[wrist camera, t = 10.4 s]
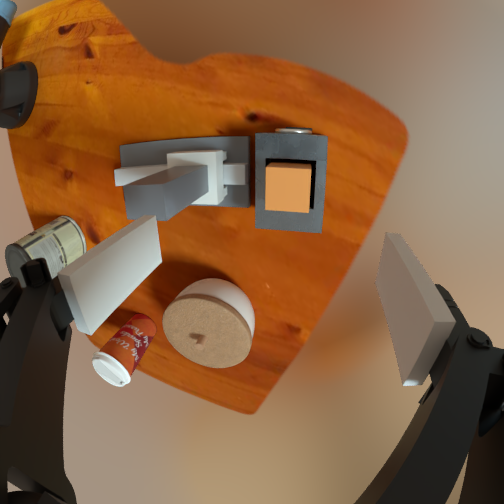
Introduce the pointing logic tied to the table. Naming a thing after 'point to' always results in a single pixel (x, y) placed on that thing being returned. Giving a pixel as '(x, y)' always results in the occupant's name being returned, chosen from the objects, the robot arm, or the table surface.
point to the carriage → (178, 185)
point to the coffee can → (47, 247)
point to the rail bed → (155, 152)
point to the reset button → (288, 187)
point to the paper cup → (124, 350)
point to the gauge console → (290, 147)
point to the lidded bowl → (211, 323)
